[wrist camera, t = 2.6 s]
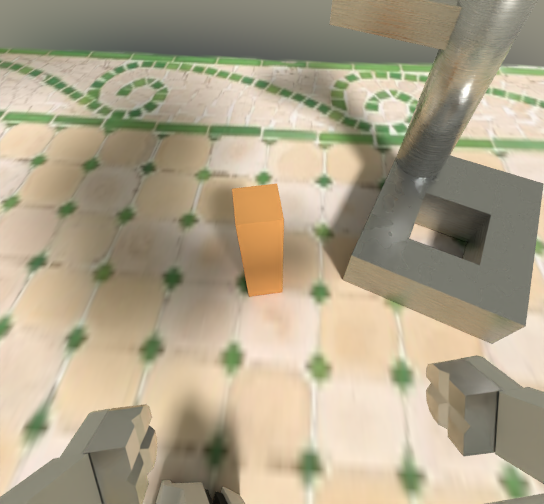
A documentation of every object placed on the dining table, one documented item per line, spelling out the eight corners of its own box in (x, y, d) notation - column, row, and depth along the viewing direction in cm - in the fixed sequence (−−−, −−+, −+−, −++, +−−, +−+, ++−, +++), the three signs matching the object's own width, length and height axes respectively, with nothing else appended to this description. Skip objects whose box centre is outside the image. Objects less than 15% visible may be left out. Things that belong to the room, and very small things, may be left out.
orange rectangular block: (248, 296, 28) (235, 224, 19) (245, 267, 29) (232, 188, 20) (282, 292, 28) (283, 219, 19) (277, 263, 29) (276, 183, 21)
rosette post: (264, 246, 30) (241, -101, 11) (324, 150, 36) (372, -172, 18) (491, 343, 25) (1116, 12, 6) (514, 213, 32) (859, -143, 13)
